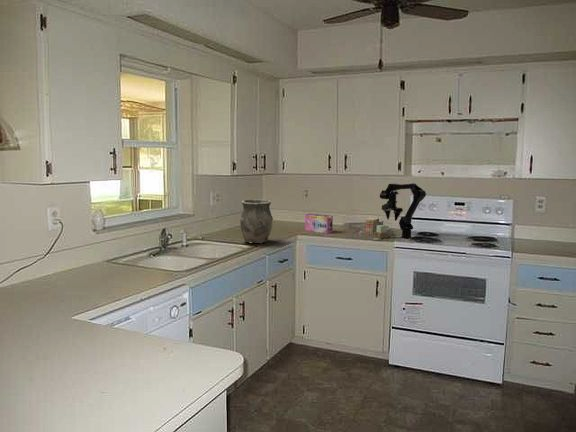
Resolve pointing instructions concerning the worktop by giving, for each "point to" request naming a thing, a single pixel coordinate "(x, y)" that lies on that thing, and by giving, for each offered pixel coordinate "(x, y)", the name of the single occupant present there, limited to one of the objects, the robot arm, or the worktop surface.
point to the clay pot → (256, 220)
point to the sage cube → (381, 229)
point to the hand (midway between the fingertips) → (391, 220)
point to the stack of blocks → (372, 225)
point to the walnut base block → (381, 235)
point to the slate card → (375, 239)
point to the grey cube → (389, 231)
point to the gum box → (319, 223)
